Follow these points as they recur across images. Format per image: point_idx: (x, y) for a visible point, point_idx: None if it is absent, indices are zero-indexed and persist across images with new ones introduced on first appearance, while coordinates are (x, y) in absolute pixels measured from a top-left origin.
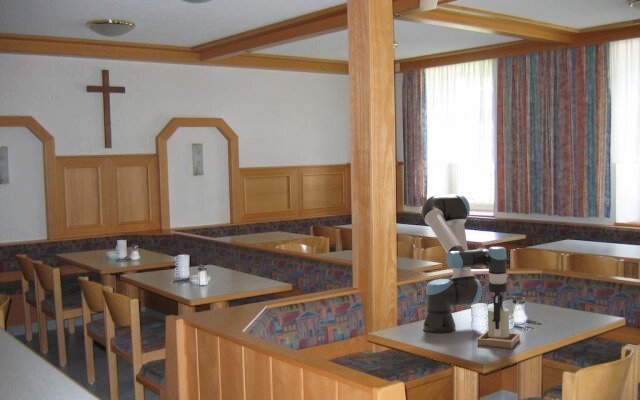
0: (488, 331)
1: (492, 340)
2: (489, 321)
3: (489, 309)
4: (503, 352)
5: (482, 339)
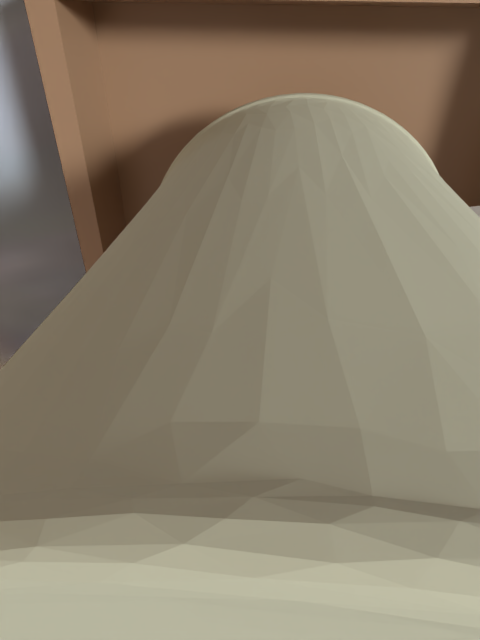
0: (215, 135)
1: (75, 216)
2: (101, 255)
3: (195, 627)
4: (14, 308)
5: (38, 63)
